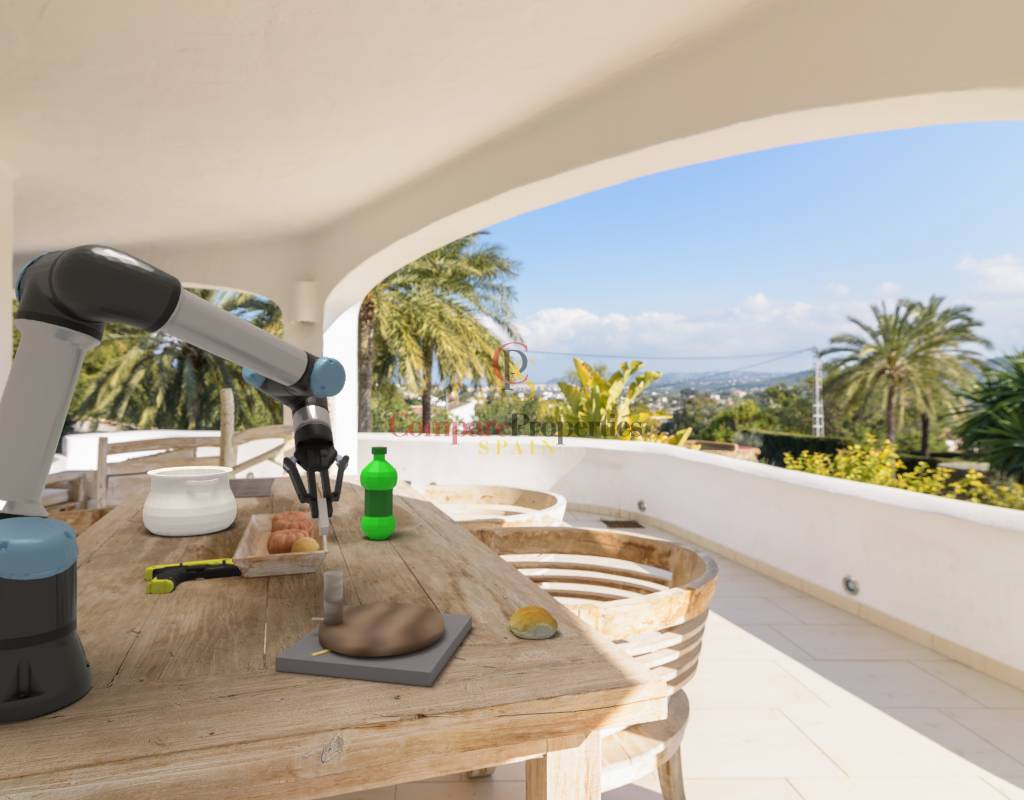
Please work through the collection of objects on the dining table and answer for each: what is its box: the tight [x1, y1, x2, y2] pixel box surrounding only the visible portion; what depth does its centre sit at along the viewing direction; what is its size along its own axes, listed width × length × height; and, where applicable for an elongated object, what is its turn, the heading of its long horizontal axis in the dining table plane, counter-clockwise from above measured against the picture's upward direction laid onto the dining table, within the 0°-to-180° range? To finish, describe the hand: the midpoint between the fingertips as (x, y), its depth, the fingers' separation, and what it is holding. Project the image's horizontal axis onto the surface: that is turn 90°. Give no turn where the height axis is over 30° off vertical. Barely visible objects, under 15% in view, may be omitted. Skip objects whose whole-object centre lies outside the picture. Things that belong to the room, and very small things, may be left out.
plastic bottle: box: [359, 446, 398, 541], centre depth 186 cm, size 10×10×25 cm
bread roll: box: [508, 605, 559, 640], centre depth 118 cm, size 8×9×4 cm
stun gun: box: [144, 557, 242, 595], centre depth 144 cm, size 3×19×15 cm
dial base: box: [275, 604, 473, 687], centre depth 109 cm, size 24×24×2 cm
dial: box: [310, 570, 444, 657], centre depth 109 cm, size 22×20×10 cm
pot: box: [142, 465, 238, 537], centre depth 193 cm, size 26×24×17 cm
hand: (324, 531), depth 123 cm, fingers closed
